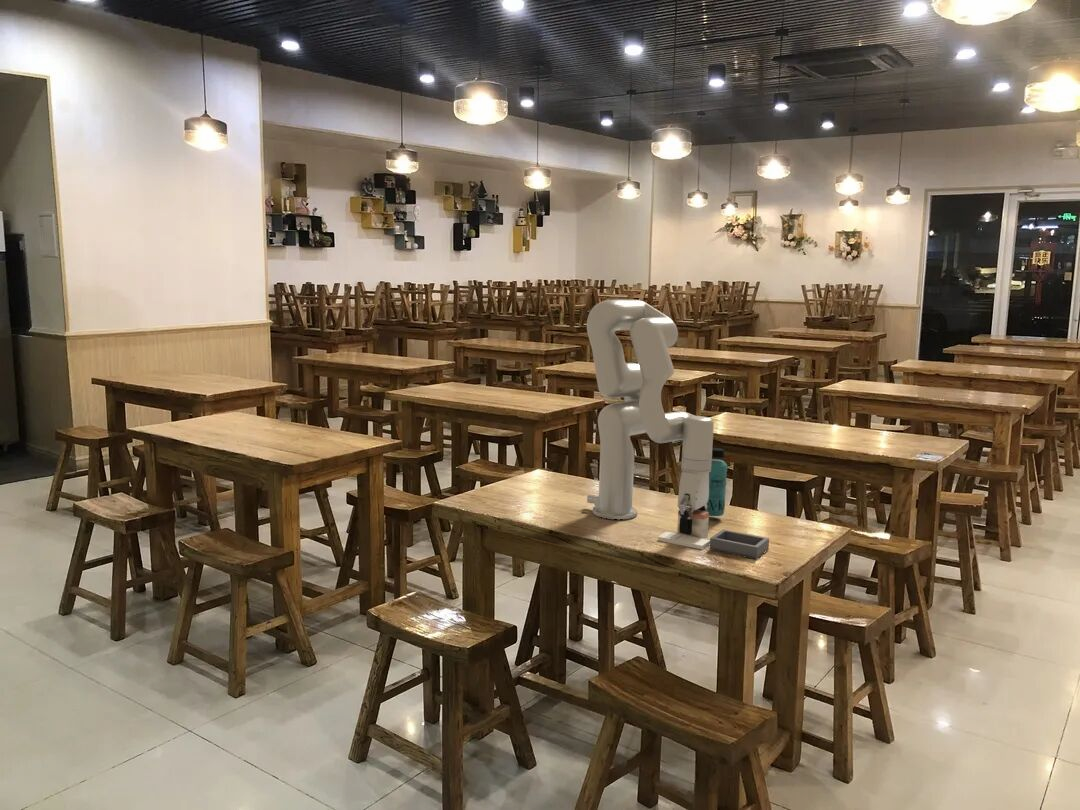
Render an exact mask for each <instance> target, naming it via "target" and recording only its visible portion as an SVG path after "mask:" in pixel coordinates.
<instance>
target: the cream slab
mask: <svg viewBox="0 0 1080 810" xmlns="http://www.w3.org/2000/svg"><path fill="white" fill-rule="evenodd" d="M657 541H659V542H664V543H669V544H673V545H679V546H684V547H688V548H693V549H697V550H703V549H705V548H707V547H708V546H710V545H709V544H710V538H707V539H706V538H701V537H696V536H691V535H686V534H681V533H677V532H676V531H670V530H667V531H665V532H663V533H662V534H660V535H659V536H657Z"/></svg>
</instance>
